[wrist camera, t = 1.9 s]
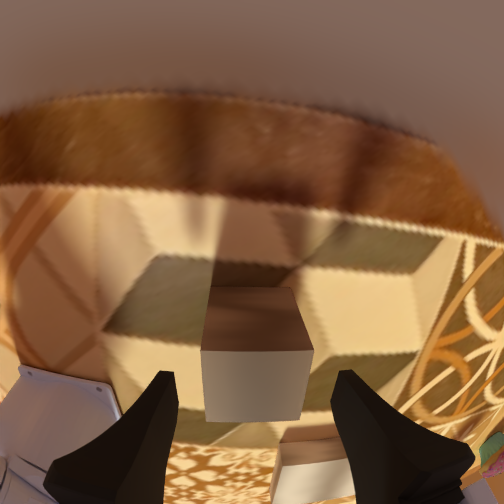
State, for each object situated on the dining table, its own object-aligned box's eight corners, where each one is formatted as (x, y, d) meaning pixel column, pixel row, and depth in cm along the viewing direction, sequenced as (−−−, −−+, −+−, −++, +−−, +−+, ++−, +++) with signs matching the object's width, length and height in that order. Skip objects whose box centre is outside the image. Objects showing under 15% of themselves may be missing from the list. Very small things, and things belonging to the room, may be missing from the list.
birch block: (269, 485, 26) (271, 506, 23) (278, 439, 22) (282, 466, 20) (353, 474, 26) (359, 493, 23) (381, 426, 23) (391, 448, 20)
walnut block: (212, 349, 18) (206, 421, 13) (210, 286, 17) (200, 350, 11) (283, 350, 19) (299, 420, 13) (290, 287, 17) (314, 350, 11)
